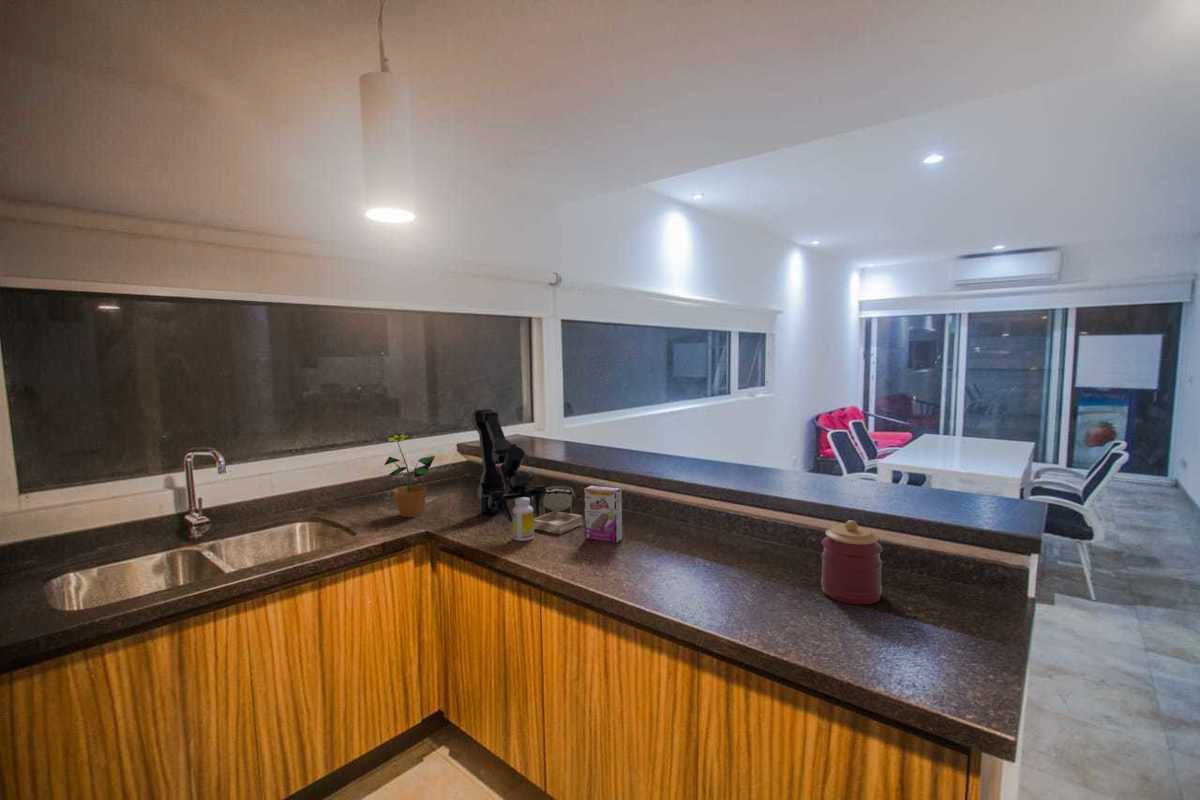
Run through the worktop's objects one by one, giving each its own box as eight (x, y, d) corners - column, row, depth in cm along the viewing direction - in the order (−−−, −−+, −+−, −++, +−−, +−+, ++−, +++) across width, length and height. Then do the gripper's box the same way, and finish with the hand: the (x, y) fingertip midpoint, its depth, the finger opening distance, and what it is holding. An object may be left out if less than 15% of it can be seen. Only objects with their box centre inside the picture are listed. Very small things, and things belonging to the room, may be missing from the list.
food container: (577, 512, 199) (576, 485, 198) (574, 517, 193) (573, 490, 192) (544, 512, 200) (543, 485, 200) (540, 517, 194) (540, 489, 193)
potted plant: (375, 517, 199) (371, 437, 196) (421, 505, 213) (417, 431, 211) (400, 525, 187) (395, 440, 185) (446, 513, 201) (443, 434, 199)
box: (531, 528, 181) (531, 519, 181) (554, 518, 191) (554, 510, 191) (560, 534, 174) (560, 525, 174) (582, 524, 184) (582, 515, 184)
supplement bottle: (537, 535, 173) (536, 496, 172) (528, 542, 167) (527, 502, 166) (519, 534, 175) (518, 495, 174) (509, 540, 169) (508, 500, 168)
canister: (879, 610, 118) (880, 532, 116) (816, 598, 125) (817, 523, 123) (883, 588, 129) (885, 517, 127) (826, 578, 135) (826, 509, 134)
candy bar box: (584, 539, 168) (583, 488, 167) (591, 534, 173) (590, 485, 172) (616, 544, 164) (615, 491, 163) (623, 539, 168) (622, 487, 167)
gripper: (488, 467, 168) (501, 510, 159) (543, 460, 177) (558, 500, 169) (482, 487, 176) (494, 528, 167) (535, 479, 185) (549, 519, 176)
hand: (524, 518), depth 169 cm, fingers open, 9 cm apart
